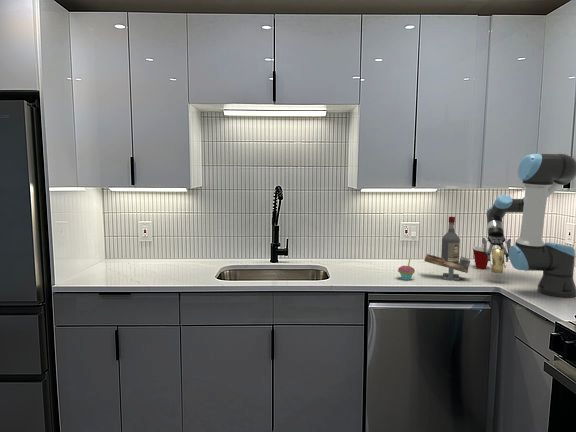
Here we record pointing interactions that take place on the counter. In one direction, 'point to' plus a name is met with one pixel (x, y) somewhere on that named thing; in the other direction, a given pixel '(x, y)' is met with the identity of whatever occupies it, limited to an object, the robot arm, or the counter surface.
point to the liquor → (451, 244)
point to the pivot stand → (451, 274)
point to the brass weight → (497, 260)
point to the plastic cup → (480, 257)
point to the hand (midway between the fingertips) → (498, 266)
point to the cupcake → (406, 271)
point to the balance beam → (449, 263)
